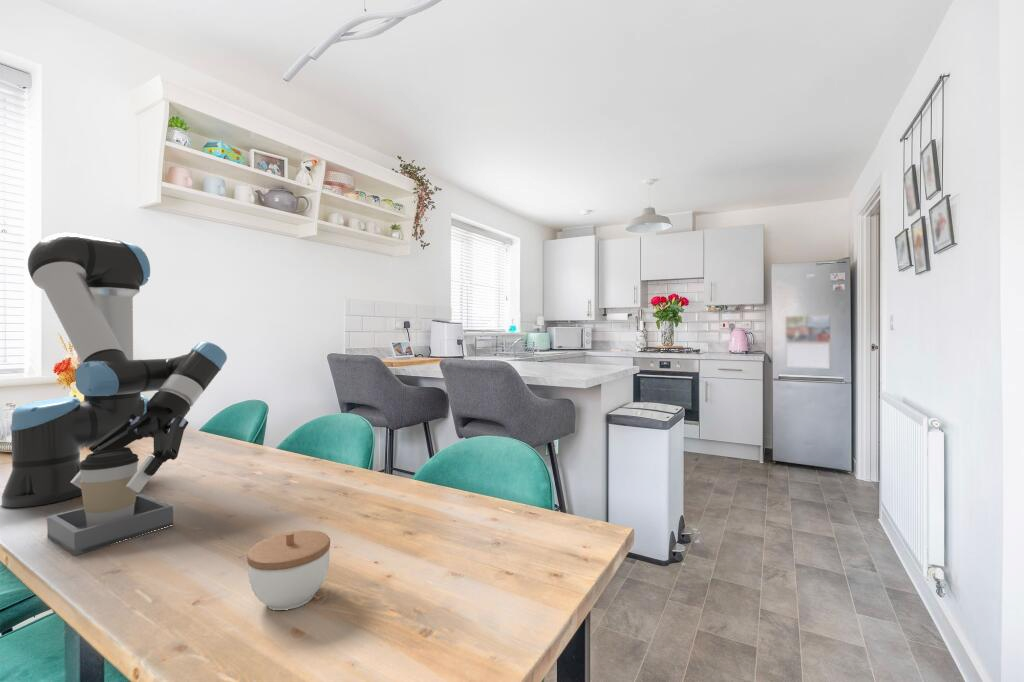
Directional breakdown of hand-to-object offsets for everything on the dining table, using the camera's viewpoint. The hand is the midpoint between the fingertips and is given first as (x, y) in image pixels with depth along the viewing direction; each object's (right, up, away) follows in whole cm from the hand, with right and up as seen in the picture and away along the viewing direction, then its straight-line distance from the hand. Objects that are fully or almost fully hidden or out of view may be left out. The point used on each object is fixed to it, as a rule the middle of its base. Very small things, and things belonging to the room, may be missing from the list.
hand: (104, 487), depth 91 cm
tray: (0, -9, +1) cm, 9 cm away
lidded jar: (+47, -9, -24) cm, 54 cm away
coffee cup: (0, -8, +1) cm, 9 cm away
